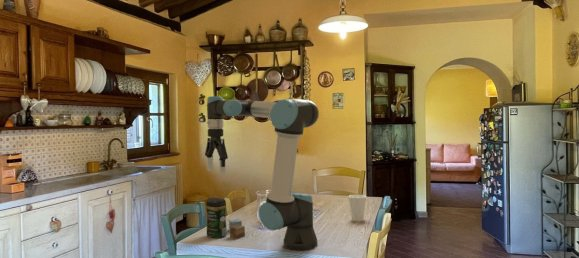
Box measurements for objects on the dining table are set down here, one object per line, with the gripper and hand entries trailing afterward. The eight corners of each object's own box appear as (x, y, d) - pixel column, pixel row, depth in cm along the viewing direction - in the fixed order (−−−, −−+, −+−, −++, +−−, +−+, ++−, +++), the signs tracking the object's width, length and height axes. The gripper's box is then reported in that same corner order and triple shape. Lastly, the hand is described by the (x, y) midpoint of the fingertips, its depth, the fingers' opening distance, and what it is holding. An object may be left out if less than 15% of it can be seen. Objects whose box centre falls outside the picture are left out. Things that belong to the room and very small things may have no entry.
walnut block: (244, 236, 192) (244, 226, 192) (237, 239, 188) (237, 228, 188) (237, 234, 195) (237, 224, 195) (230, 237, 192) (229, 227, 191)
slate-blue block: (241, 230, 203) (241, 221, 203) (232, 232, 200) (232, 222, 200) (238, 228, 207) (238, 219, 207) (229, 229, 205) (229, 220, 205)
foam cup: (369, 219, 219) (369, 195, 218) (360, 222, 212) (359, 198, 212) (355, 216, 225) (354, 194, 225) (345, 220, 218) (345, 196, 218)
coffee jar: (203, 236, 194) (202, 198, 193) (215, 232, 200) (214, 195, 200) (218, 239, 188) (217, 200, 188) (229, 235, 195) (228, 197, 194)
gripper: (197, 128, 201) (198, 170, 201) (219, 129, 180) (220, 175, 181) (211, 127, 205) (212, 168, 206) (234, 128, 185) (235, 174, 186)
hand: (216, 172), depth 193 cm, fingers open, 13 cm apart
